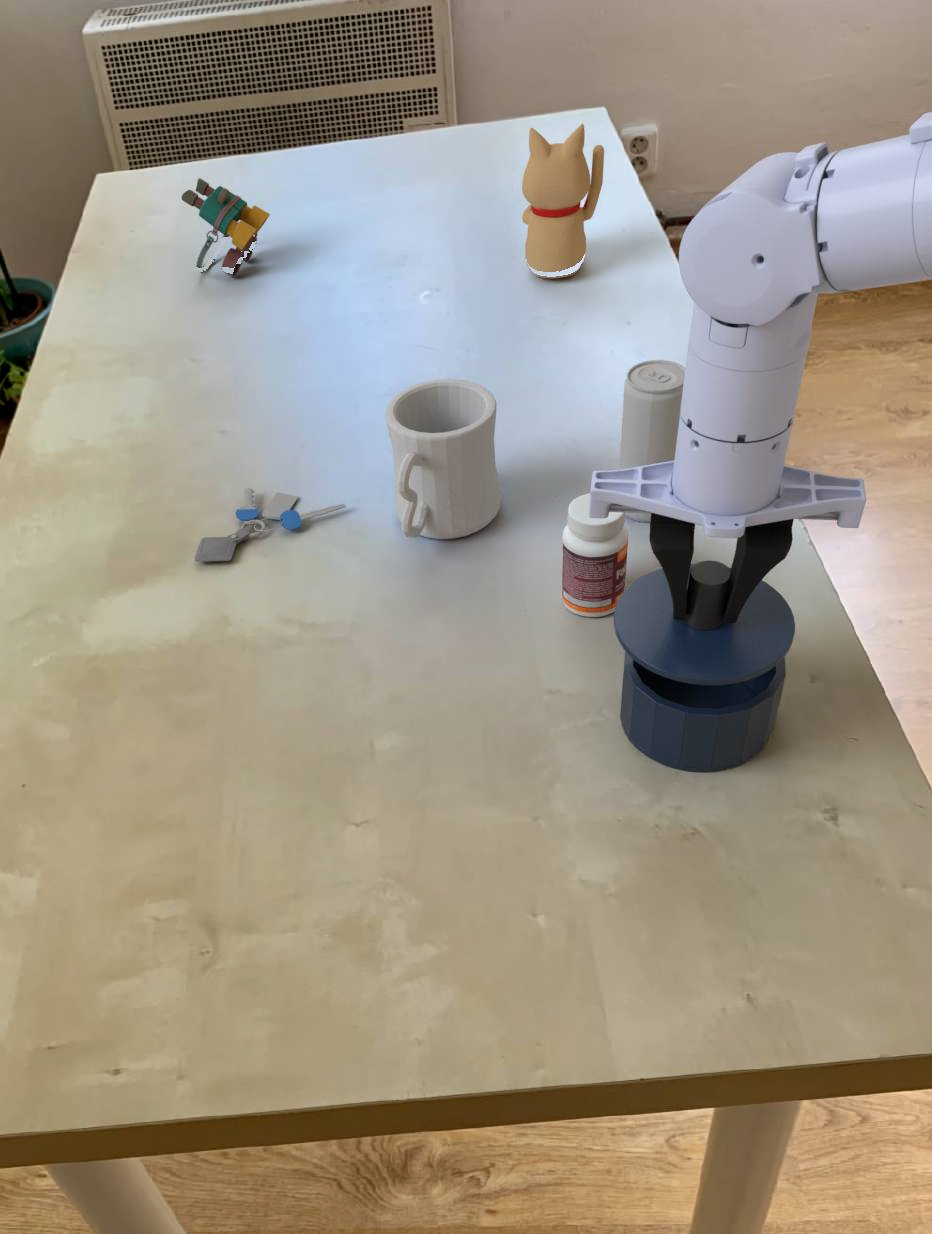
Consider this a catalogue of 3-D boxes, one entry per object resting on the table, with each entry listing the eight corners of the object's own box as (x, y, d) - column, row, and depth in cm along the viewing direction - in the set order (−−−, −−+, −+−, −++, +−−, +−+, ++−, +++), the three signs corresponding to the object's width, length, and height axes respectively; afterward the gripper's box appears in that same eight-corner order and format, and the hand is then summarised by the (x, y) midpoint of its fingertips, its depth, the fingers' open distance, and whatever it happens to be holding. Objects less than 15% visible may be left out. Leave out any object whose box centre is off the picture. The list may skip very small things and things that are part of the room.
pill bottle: (628, 616, 82) (635, 525, 76) (564, 621, 83) (566, 530, 77) (619, 577, 85) (625, 485, 79) (558, 581, 86) (559, 491, 80)
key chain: (205, 575, 92) (202, 567, 91) (166, 529, 97) (164, 521, 96) (348, 511, 95) (346, 503, 95) (304, 470, 101) (302, 463, 100)
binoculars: (222, 303, 131) (249, 233, 124) (155, 260, 130) (178, 186, 122) (251, 268, 137) (279, 199, 129) (187, 227, 136) (211, 154, 128)
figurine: (599, 245, 125) (605, 101, 114) (599, 284, 119) (605, 135, 108) (524, 249, 127) (523, 107, 116) (520, 288, 120) (518, 141, 109)
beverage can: (641, 484, 93) (652, 352, 84) (688, 505, 91) (704, 371, 82) (604, 510, 91) (611, 378, 83) (650, 532, 89) (662, 398, 80)
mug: (423, 473, 98) (414, 370, 91) (517, 491, 95) (515, 385, 87) (359, 554, 91) (343, 449, 84) (458, 576, 88) (451, 470, 80)
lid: (830, 639, 67) (847, 579, 63) (700, 719, 63) (710, 661, 60) (701, 555, 73) (711, 496, 70) (577, 624, 70) (580, 566, 66)
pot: (805, 724, 73) (820, 665, 69) (693, 796, 70) (703, 739, 66) (696, 647, 79) (704, 589, 75) (590, 710, 76) (592, 653, 72)
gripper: (590, 452, 56) (579, 647, 66) (893, 460, 53) (834, 663, 63) (599, 380, 60) (588, 573, 71) (879, 384, 57) (826, 584, 67)
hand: (704, 610), depth 67 cm, fingers closed on lid, 2 cm apart
